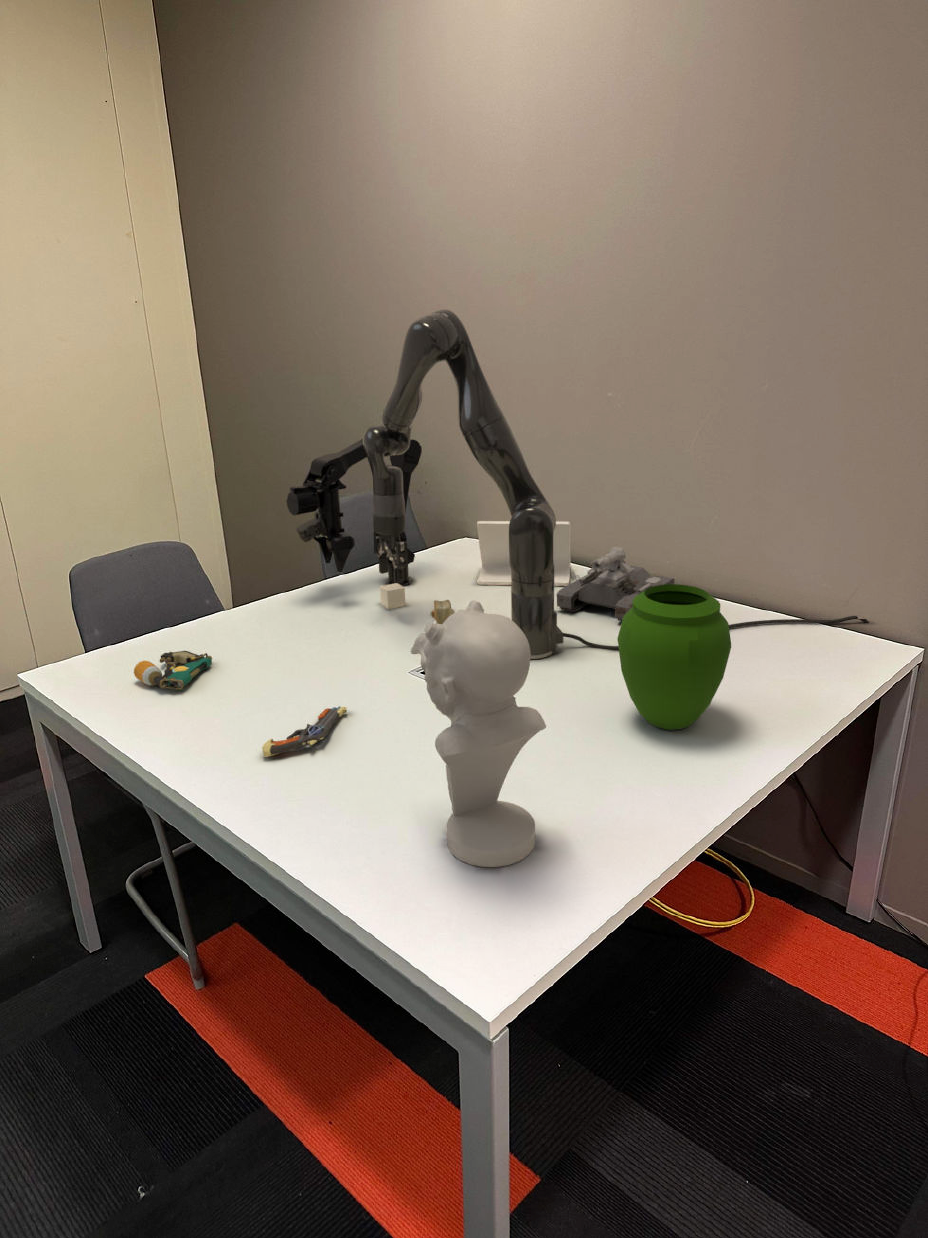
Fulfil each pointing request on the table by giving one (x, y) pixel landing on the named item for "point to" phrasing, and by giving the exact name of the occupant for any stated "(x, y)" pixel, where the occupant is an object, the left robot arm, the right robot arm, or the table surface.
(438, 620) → the sculpture
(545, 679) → the table surface
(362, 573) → the table surface
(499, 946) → the table surface
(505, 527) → the tablet stand
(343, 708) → the toy gun
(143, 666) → the spray gun
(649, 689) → the vase
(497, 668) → the bust sculpture
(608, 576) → the toy
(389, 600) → the beige wooden cube
